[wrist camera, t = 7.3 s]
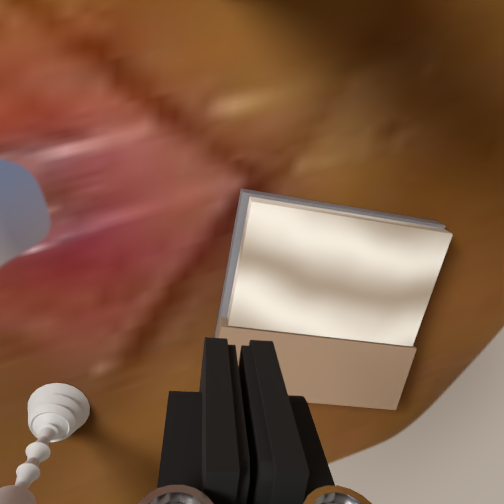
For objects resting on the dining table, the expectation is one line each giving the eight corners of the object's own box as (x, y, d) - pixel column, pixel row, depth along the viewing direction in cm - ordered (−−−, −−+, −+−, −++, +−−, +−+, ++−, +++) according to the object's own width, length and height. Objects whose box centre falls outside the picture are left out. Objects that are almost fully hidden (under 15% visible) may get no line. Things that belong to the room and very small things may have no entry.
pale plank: (249, 196, 30) (251, 201, 29) (442, 227, 32) (452, 234, 31) (227, 315, 33) (228, 325, 32) (404, 336, 36) (412, 346, 34)
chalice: (25, 363, 34) (-150, 610, 17) (109, 381, 36) (24, 628, 19) (9, 434, 36) (-162, 720, 19) (90, 449, 38) (-4, 728, 21)
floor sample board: (241, 188, 32) (244, 196, 29) (435, 220, 34) (456, 230, 31) (208, 371, 36) (208, 393, 34) (382, 388, 39) (395, 410, 36)
